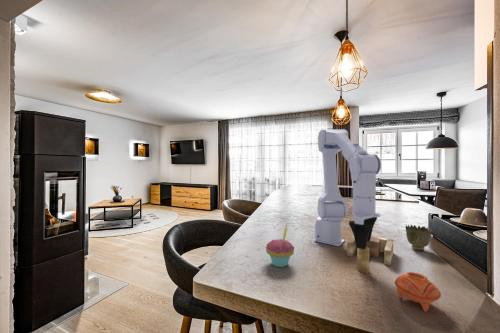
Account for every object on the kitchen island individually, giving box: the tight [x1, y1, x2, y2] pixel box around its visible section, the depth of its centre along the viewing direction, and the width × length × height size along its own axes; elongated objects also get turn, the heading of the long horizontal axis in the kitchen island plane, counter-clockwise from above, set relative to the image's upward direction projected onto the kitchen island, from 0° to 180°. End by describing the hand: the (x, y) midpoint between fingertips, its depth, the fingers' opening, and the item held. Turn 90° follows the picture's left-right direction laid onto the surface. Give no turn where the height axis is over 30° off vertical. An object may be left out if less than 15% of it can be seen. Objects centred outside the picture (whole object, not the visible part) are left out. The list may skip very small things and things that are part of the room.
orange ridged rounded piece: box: [394, 271, 442, 313], centre depth 47 cm, size 8×8×7 cm
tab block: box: [356, 236, 381, 274], centre depth 68 cm, size 5×19×6 cm, turn 143°
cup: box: [405, 224, 433, 252], centre depth 77 cm, size 8×7×8 cm
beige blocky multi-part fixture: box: [346, 233, 394, 267], centre depth 73 cm, size 12×12×4 cm
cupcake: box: [265, 224, 295, 268], centre depth 65 cm, size 9×8×12 cm
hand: (363, 244), depth 62 cm, fingers open, 7 cm apart
